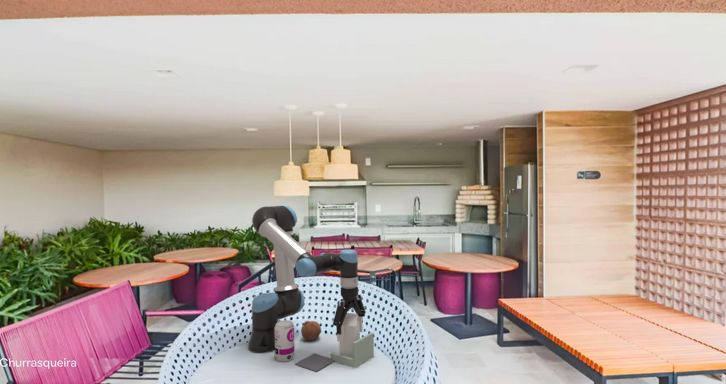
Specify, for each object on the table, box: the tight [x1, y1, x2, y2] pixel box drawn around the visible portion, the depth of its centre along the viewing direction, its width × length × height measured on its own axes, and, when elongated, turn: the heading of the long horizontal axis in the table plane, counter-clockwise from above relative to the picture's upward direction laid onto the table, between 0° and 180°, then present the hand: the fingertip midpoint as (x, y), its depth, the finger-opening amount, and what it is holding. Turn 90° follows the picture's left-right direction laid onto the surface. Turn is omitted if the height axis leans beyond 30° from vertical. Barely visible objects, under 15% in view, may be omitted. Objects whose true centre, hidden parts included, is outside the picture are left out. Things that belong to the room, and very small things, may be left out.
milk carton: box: [339, 312, 361, 358], centre depth 163 cm, size 7×7×19 cm
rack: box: [330, 332, 375, 369], centre depth 162 cm, size 13×13×10 cm
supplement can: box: [274, 320, 295, 363], centre depth 163 cm, size 8×8×15 cm
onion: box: [301, 320, 322, 341], centre depth 184 cm, size 10×9×10 cm
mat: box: [294, 353, 336, 373], centre depth 158 cm, size 12×12×1 cm
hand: (350, 336), depth 163 cm, fingers open, 13 cm apart
